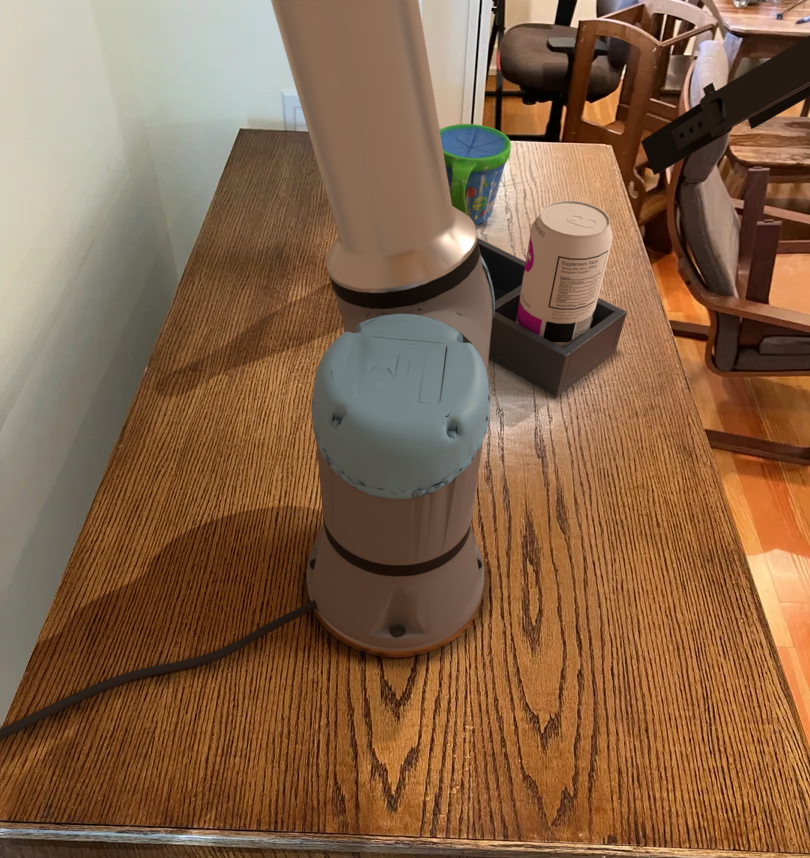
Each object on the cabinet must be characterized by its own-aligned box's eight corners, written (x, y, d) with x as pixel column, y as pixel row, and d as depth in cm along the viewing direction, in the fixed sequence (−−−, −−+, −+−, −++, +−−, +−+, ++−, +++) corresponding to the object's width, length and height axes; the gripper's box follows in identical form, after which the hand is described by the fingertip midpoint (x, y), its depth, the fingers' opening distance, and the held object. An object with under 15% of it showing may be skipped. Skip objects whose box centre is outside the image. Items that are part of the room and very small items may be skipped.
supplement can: (502, 351, 86) (521, 225, 75) (529, 314, 91) (551, 190, 80) (570, 374, 84) (600, 247, 73) (594, 335, 89) (626, 210, 77)
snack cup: (484, 249, 103) (493, 173, 95) (410, 233, 105) (413, 157, 97) (514, 197, 112) (525, 124, 104) (446, 183, 114) (451, 110, 106)
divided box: (556, 398, 84) (565, 356, 79) (409, 313, 93) (411, 272, 89) (615, 352, 89) (627, 311, 85) (471, 276, 98) (475, 236, 94)
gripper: (927, 65, 39) (623, 226, 58) (1101, -22, 50) (798, 138, 69) (881, -89, 38) (583, 128, 56) (1071, -144, 48) (769, 53, 67)
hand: (701, 134), depth 62 cm, fingers open, 13 cm apart
